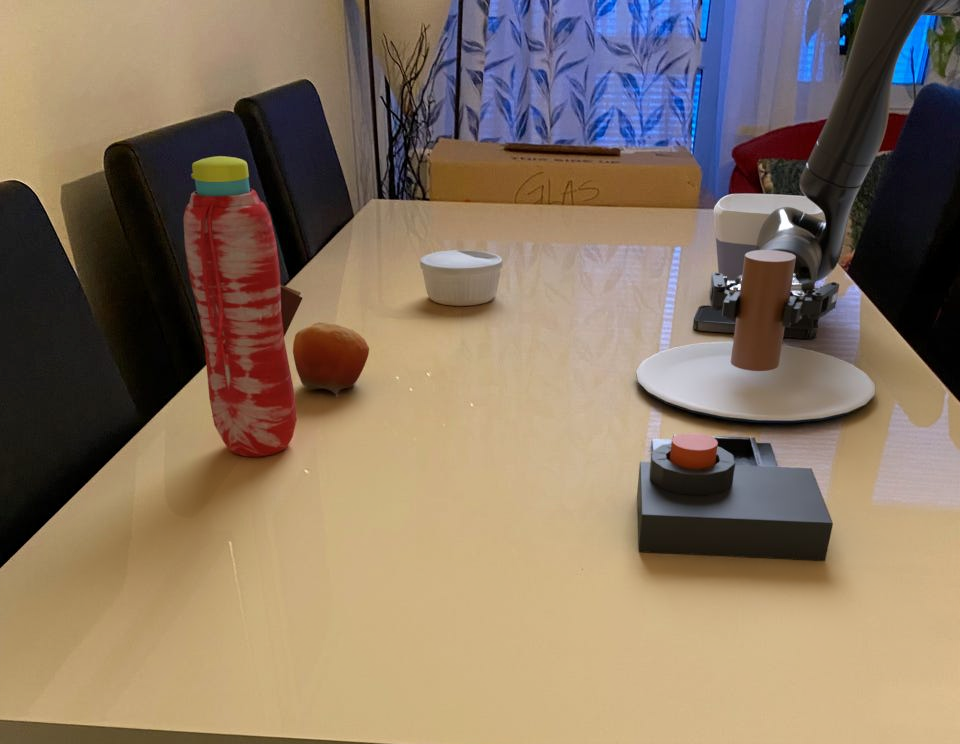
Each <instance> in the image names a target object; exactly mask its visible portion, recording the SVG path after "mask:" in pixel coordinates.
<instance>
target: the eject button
mask: <svg viewBox="0 0 960 744" xmlns="http://www.w3.org/2000/svg"><path fill="white" fill-rule="evenodd" d="M675 435H676V436H674V437H673V436H672V438H671V440H672V442H671V452H670V462H672V463H673V464H675V465H678V466H682V467H686V468H700V469H702V468H707V467H712V466H714V465H715V463H716V455H717V447H718V442H717V440H716V439H715V438H713V437H711V436H712V435H708V434H704V433H698V432H685V433H679V434H675Z"/></svg>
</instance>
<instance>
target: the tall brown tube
mask: <svg viewBox="0 0 960 744" xmlns="http://www.w3.org/2000/svg"><path fill="white" fill-rule="evenodd" d="M795 261H796V256H795V255H793V254H791V253H788V252H783V251H776V250H756V251H751V252H747V253H746V254H745V258H744V265H743V273H742V280H741V288H740V295H739V303H738V310H737V317H736V325H735V332H734V333H733V340H732V342H733V347H732V355H731V364H732V365H733V366H735V367H737V368H740V369H744V370H750V371H768V370H773V369H775V368H777V367H778V366H779V360H780V354H781V348H782V345H783V343H784V342H783V341H784V340H783V339H784V337H783V335H784V329H785V327H783V326H782V324H783V318H784V312H785V306H786V304H787V302H788V300H789V298H790V292H791V286H792V280H793V274H794V267H795Z"/></svg>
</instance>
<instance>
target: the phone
mask: <svg viewBox="0 0 960 744" xmlns="http://www.w3.org/2000/svg"><path fill="white" fill-rule="evenodd" d="M808 315H809V314H805V315H802V318H801V319H799V321H798V322H797V323H791V325H790V327H785V329H784V335H783V338H792V339H807V340H810V339H815V338H817V335H818V330H819V320H820V319H816V320H812V319H810V318H808ZM735 325H736V319H735V320H734V322H732V321H727V316H722V310H718V311H716V310H713V309H711V304H705V305H703V304H702V305H699V306H698V308H697V310H696V312H695V315H694V317H693V322H692V329H693V330H695V331H701V332H712V333H713V332H715V333H726V334H734V332H735Z"/></svg>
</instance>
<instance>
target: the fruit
mask: <svg viewBox="0 0 960 744" xmlns="http://www.w3.org/2000/svg"><path fill="white" fill-rule="evenodd" d="M292 354H293V360H294V365H295V369H296V372H297V375H298V378H299V381H300V382H301V384H302V386H303V387H304V390H305V393H307V392H309V391H312V390H317V389H321V390H322V389H323V390H327V391H330V392H332V393H334V394H335V398H336V399H339V392H340V391H341V390H343V389H344V390H345V389H347V388H353V386H354V385H355V384H356V383H357V381H358V380H359V378H360V376H361V375H362V371H363V370H364V368H365V365H366V363H367V361H368V357H369V354H370V347H369V345H368V343H367V341H366V339H365V338H364V337H363V336H362V335H361V334H359V333H358V332H357V331H355V330H354V329H352V328H348V327H345V326H342V325H339V324H335V323H328V322H315V323H313V324H311V325H310V326H307V327H305V328H302V329H300V330H298V331H297V332H296V333H295V335H294V340H293V346H292Z"/></svg>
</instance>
